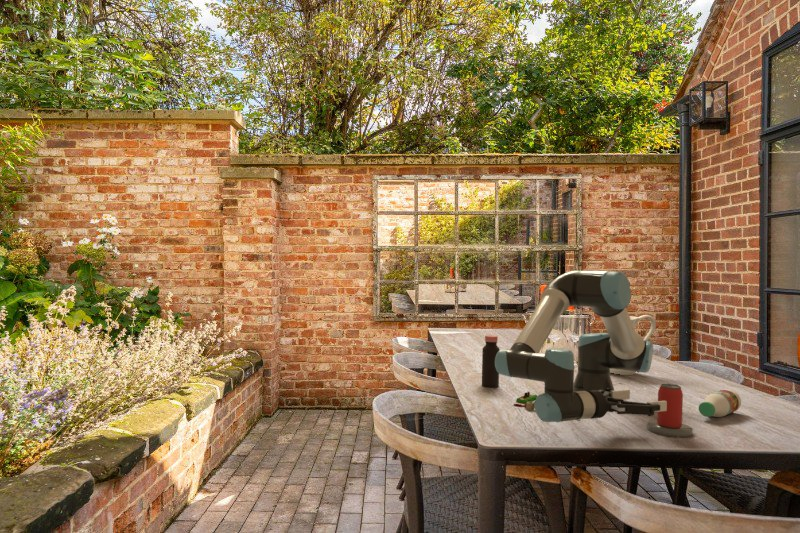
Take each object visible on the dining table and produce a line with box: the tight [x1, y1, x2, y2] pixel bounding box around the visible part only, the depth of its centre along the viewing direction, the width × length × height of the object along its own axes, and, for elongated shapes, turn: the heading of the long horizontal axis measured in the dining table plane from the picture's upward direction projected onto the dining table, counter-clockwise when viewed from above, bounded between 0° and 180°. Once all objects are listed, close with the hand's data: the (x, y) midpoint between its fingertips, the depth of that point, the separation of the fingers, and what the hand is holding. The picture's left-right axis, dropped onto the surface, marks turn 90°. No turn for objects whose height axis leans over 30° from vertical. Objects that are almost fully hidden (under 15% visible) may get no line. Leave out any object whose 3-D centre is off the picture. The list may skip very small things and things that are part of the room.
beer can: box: [656, 383, 684, 429], centre depth 159 cm, size 7×7×12 cm
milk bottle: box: [698, 388, 742, 418], centre depth 177 cm, size 8×8×20 cm
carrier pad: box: [646, 419, 693, 438], centre depth 159 cm, size 12×12×2 cm
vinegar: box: [481, 334, 501, 388], centre depth 215 cm, size 7×7×20 cm
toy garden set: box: [513, 391, 538, 411], centre depth 183 cm, size 23×19×5 cm
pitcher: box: [610, 314, 657, 376], centre depth 248 cm, size 24×17×28 cm
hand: (646, 399), depth 156 cm, fingers open, 13 cm apart
